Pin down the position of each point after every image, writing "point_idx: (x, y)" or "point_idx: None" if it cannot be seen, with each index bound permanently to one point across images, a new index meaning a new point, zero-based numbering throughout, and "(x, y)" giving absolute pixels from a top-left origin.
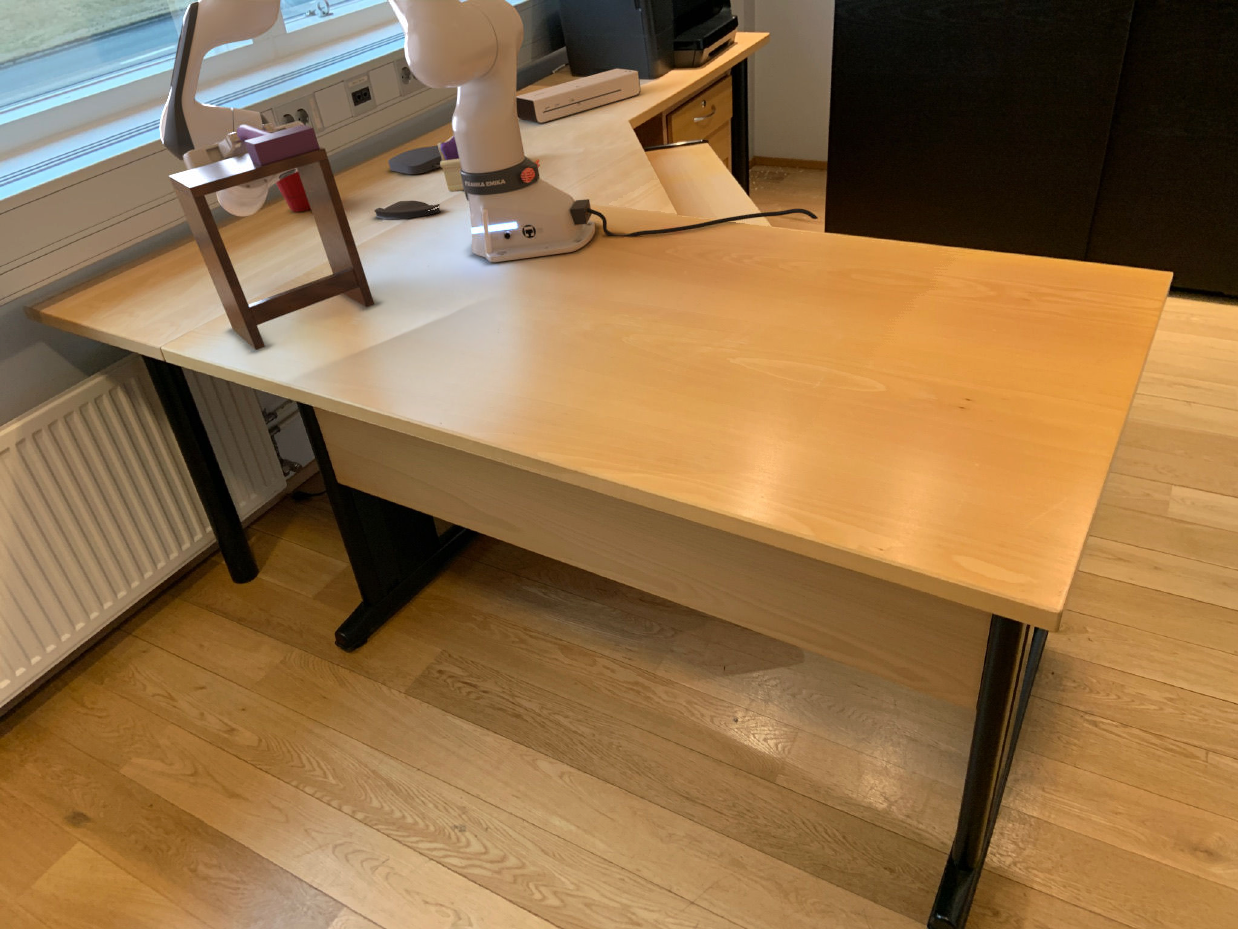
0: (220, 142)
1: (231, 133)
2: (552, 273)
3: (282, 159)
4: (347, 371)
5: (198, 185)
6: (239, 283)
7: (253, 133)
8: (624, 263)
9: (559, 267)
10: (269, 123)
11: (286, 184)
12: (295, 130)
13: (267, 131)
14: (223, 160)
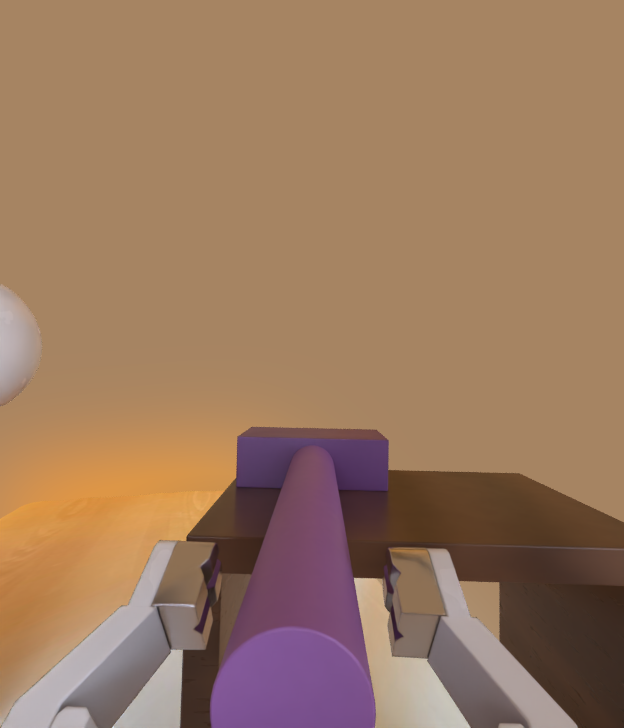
0: (544, 692)
1: (419, 550)
2: (47, 651)
3: None
4: (376, 635)
5: (502, 473)
6: None
7: (331, 490)
8: (17, 609)
9: (19, 658)
10: (176, 541)
11: None
12: (279, 430)
13: (216, 568)
14: (475, 541)
